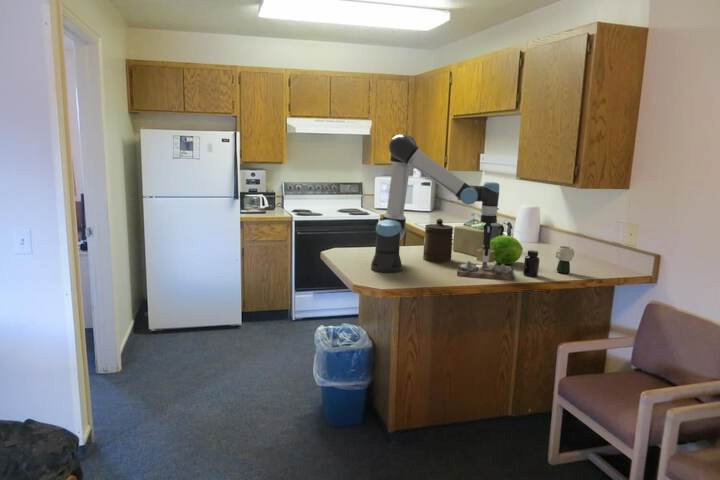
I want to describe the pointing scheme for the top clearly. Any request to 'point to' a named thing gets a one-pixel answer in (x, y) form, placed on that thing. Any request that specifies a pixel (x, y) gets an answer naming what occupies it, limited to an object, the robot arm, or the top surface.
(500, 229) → the coffeepot
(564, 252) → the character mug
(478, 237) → the beige rectangular block
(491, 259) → the faceted octagonal washer
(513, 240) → the lettuce
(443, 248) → the wooden container
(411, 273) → the top surface
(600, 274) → the top surface
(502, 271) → the gear board
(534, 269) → the supplement bottle
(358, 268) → the top surface
